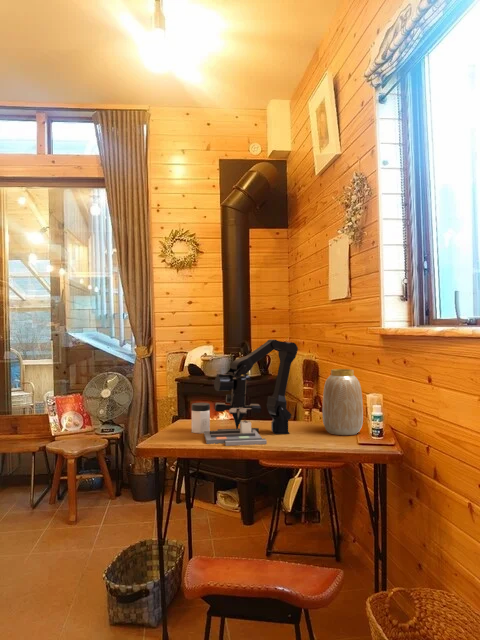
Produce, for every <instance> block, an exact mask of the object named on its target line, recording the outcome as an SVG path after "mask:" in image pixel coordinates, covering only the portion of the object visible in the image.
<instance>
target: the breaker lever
mask: <svg viewBox="0 0 480 640" xmlns="http://www.w3.org/2000/svg"><path fill="white" fill-rule="evenodd" d="M251 428H252V422H251V420H246V419H244V420H241V422H240V424H239V429H240V433H251Z"/></svg>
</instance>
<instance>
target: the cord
mask: <svg viewBox="0 0 480 640" xmlns="http://www.w3.org/2000/svg"><path fill="white" fill-rule="evenodd" d="M251 429H252V430H256V431H257V432H258V433H259V432H260V428H259V427H251ZM220 430H240V428H238V429H236V428H220V429H219V428H218V429H217V430H216V431H220Z"/></svg>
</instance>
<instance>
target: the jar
mask: <svg viewBox="0 0 480 640" xmlns="http://www.w3.org/2000/svg"><path fill="white" fill-rule="evenodd" d="M210 405H211V403H209V402H192V404H191V433H195V434H204V431H211V430H210V429H211V419H210V418H211V417H210V415H211V414H210V413H211V412H210V411H211V406H210Z"/></svg>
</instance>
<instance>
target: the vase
mask: <svg viewBox="0 0 480 640" xmlns="http://www.w3.org/2000/svg"><path fill="white" fill-rule="evenodd" d="M354 372H355V371H354V369H349V368H348V369H345V368H333V369H330V375H329V376H328V377H327V378H326V379H325V383H324V387H323V392H322V423H323V426H324V428H325V430H326V432H327V433H329V434H332V435H338V436H355V435H358V434H359V433H360V431H361V429H362V427H363V424H364V422H363V421H364V403H363V402H364V401H363V392H362V386H361V383H360V380H359V379H358V377H356V376H355V374H354ZM358 432H359V433H358ZM357 433H358V434H357Z"/></svg>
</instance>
